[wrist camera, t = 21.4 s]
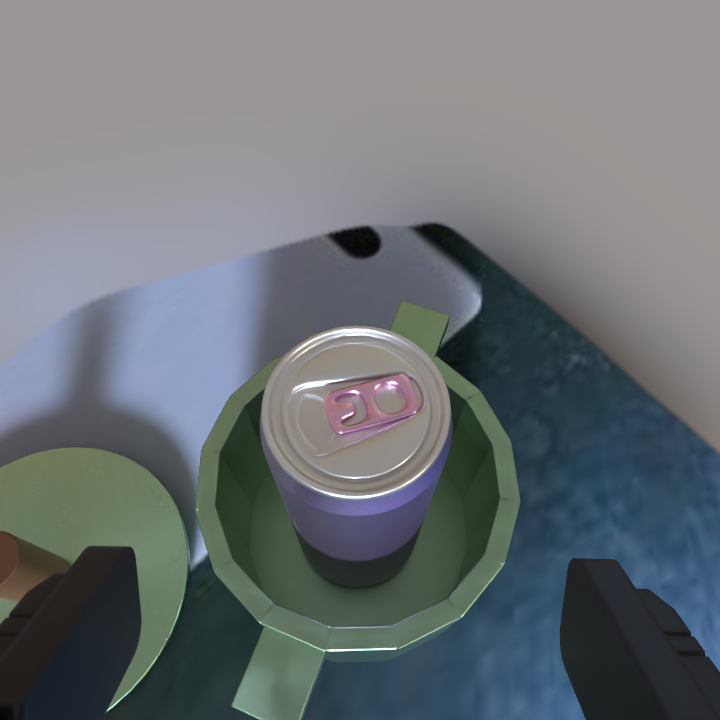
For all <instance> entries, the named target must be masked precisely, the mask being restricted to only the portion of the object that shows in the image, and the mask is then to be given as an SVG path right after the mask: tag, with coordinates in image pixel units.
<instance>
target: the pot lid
mask: <svg viewBox="0 0 720 720" xmlns="http://www.w3.org/2000/svg"><path fill="white" fill-rule="evenodd" d="M88 546H129V547H132V548H133V550H134V552H135V556H136V565H137V575H138V585H139V596H140V606H141V617H142V624H141V634H140V639H139V643H138V647H137V650H136V653H135V655H134V657H133V659H132V661H131V663H130V665H129V667H128V669H127V671H126V673H125V675H124V677H123V679H122V681H121V683H120V685H119V687H118V689H117V691H116V693H115V695H114V697H113V699H112V701H111V703H110V705H109V707H108V709H107V711H106V713H105V715H106V714H107V713H109V712H110V711H111V710H113V709H114V708H116V707H117V706H118V705H119V704H120V703H121V702H122V701H124V700H125V699H126V698H127V697H128V696H129V695H130V694H131V693H132V692H133V691H134V690H135V689H136V688H137V687H138V686H139V685H140V684H141V682H142V681H143V680H144V679H145V678H146V677H147V676H148V675H149V673H150V672H151V670H152V669H153V668H154V666H155V665H156V663H157V662H158V661H159V659H160V658H161V656H162V655H163V653H164V651H165V649H166V647H167V646H168V644H169V642H170V640H171V638H172V637H173V634H174V632H175V629H176V627H177V625H178V622H179V620H180V617H181V614H182V611H183V607H184V604H185V600H186V597H187V590H188V584H189V578H190V550H189V540H188V536H187V532H186V527H185V524H184V521H183V518H182V516H181V513H180V511H179V508H178V507H177V505H176V503H175V501H174V500H173V498H172V496H171V495H170V493H169V492H168V491H167V489H166V488H165V487H164V486H163V484H162V483H161V482H160V481H159V480H158V479H157V478H156V477H155V476H154V475H153V474H151V473H150V472H149V471H148V470H147V469H145V468H144V467H142V466H141V465H139V464H138V463H137V462H135V461H133V460H131V459H129V458H127V457H125V456H122V455H120V454H117V453H114V452H110V451H107V450H102V449H96V448H89V447H67V448H56V449H51V450H46V451H41V452H38V453H34V454H31V455H28V456H25V457H22V458H20V459H17V460H15V461H13V462H11V463H8V464H6V465H4V466H2V467H1V468H0V624H1V623H2V622H3V620H4V619H5V618H8V617H9V613H10V612H11V611H12V610H13V608H14V607H15V606H16V605H17V604H18V602H19V601H20V600H21V599H22V598H23V596H24V595H25V594H26V593H27V592H28V591H29V590H31V589H32V588H34V587H35V586H37V585H38V584H40V583H41V582H42V581H44V580H45V579H47V578H48V577H50V576H51V575H53V574H54V573H66V572H67V571H68V570H69V568H70V567H71V566H72V565H73V563H74V562H75V561H76V559H77V558H78V557H79V556H80V554H81V553H82V552H83V550H84V549H85V548H86V547H88Z"/></svg>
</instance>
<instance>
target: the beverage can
mask: <svg viewBox="0 0 720 720" xmlns="http://www.w3.org/2000/svg"><path fill="white" fill-rule="evenodd" d="M452 433H453V420H452V412H451V403H450V397H449V393H448V389H447V386H446V383H445V380H444V378H443V376H442V374H441V372H440V371H439V369H438V367H437V366H436V364H435V363H434V362H433V360H432V359H431V358H430V357H429V356H428V355H427V354H426V353H425V352H424V351H423V350H422V349H421V348H420V347H418V346H417V345H416V344H414V343H413V342H412V341H410V340H408V339H407V338H405V337H403V336H401V335H399V334H397V333H394V332H392V331H389V330H386V329H382V328H378V327H373V326H364V325H349V326H340V327H335V328H331V329H327V330H324V331H321V332H318V333H316V334H314V335H312V336H310V337H308V338H306V339H305V340H303V341H301V342H300V343H298V344H297V345H296V346H294V347H293V348H292V349H291V350H290V351H289V352H288V353H286V354H285V356H284V357H283V358H282V359H281V360H280V361H279V363H278V364H277V365H276V367H275V368H274V370H273V372H272V373H271V375H270V377H269V380H268V382H267V384H266V387H265V391H264V395H263V400H262V408H261V417H260V437H261V443H262V447H263V451H264V454H265V457H266V460H267V462H268V465H269V467H270V470H271V472H272V475H273V477H274V480H275V482H276V485H277V487H278V490H279V492H280V495H281V497H282V500H283V502H284V505H285V507H286V510H287V513H288V515H289V518H290V520H291V523H292V525H293V528H294V530H295V533H296V535H297V538H298V540H299V543H300V545H301V548H302V550H303V552H304V555H305V556H306V558H307V560H308V561H309V563H310V564H311V565H312V566H313V567H314V569H315V570H316V571H318V572H319V573H320V574H321V575H322V576H324V577H325V578H327V579H329V580H331V581H333V582H335V583H337V584H340V585H344V586H350V587H365V586H371V585H375V584H378V583H380V582H382V581H385V580H386V579H388V578H390V577H391V576H393V575H394V574H395V573H397V572H398V571H399V570H400V569H401V568H402V567H403V565H404V564H405V563H406V561H407V560H408V558H409V557H410V555H411V553H412V551H413V548H414V546H415V543H416V540H417V537H418V535H419V532H420V529H421V527H422V524H423V521H424V518H425V516H426V513H427V510H428V508H429V505H430V502H431V499H432V497H433V494H434V491H435V489H436V486H437V483H438V480H439V478H440V475H441V472H442V469H443V467H444V464H445V461H446V459H447V456H448V453H449V450H450V446H451V441H452Z"/></svg>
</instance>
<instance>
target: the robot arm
mask: <svg viewBox="0 0 720 720" xmlns="http://www.w3.org/2000/svg"><path fill="white" fill-rule="evenodd" d="M141 624H142V617H141V606H140V596H139V585H138V575H137V565H136V556H135V552H134V550H133V548H132V547H129V546H88V547H86V548H85V549H84V550H83V552H82V553H81V554H80V556H79V557H78V558H77V559H76V561H75V562H74V563H73V565H72V566H71V567H70V568H69V570H68V571H67V572H66V573H54V574H53V575H51V576H50V577H48V578H47V579H45V580H44V581H42V582H41V583H40V584H38V585H37V586H35V587H34V588H32V589H31V590H29V591H28V592H27V593H26V594H25V595H24V596H23V598H22V599H21V600H20V601H19V602H18V604H17V605H16V606H15V607H14V608H13V610H12V611H11V612H10V613H9V617H8V618H5V619H4V620H3V622H2V623H1V624H0V720H102V719H103V717H104V715H105V713H106V711H107V709H108V707H109V705H110V703H111V701H112V699H113V697H114V695H115V693H116V691H117V689H118V687H119V685H120V683H121V681H122V679H123V677H124V675H125V673H126V671H127V669H128V667H129V665H130V663H131V661H132V659H133V657H134V655H135V653H136V650H137V647H138V643H139V639H140V634H141ZM560 647H561V654H562V659H563V663H564V666H565V669H566V671H567V674H568V676H569V679H570V681H571V684H572V686H573V689H574V691H575V694H576V696H577V699H578V701H579V704H580V706H581V709H582V711H583V714H584V716H585V718H586V720H720V672H719V671H718V669H717V668H716V667H715V665H714V664H713V662H712V661H711V660H710V658H709V657H706V656H705V651H704V650H703V648H702V647H701V646H700V644H699V643H698V641H697V640H696V639H695V637H692V636H691V632H690V630H689V629H688V628H687V626H686V625H685V623H684V622H683V621H682V619H681V618H680V616H679V615H678V614H677V612H676V611H675V609H674V608H672V607H671V606H670V605H668V604H667V603H666V602H664V601H663V600H662V599H661V598H659V597H658V596H657V595H655V594H654V593H653V592H651V591H650V590H649V589H636V588H635V587H634V585H633V584H632V582H631V581H630V579H629V578H628V576H627V575H626V573H625V572H624V570H623V568H622V567H621V565H620V564H619V563H618V562H617V561H616V560H614V559H578V558H573V559H572V560H571V561H570V563H569V566H568V571H567V579H566V587H565V594H564V602H563V610H562V617H561V625H560Z"/></svg>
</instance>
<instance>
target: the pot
mask: <svg viewBox="0 0 720 720" xmlns="http://www.w3.org/2000/svg"><path fill="white" fill-rule="evenodd" d="M449 318H450V315H447V314H444V313H441V312H438V311H435V310H432V309H428V308H425V307H422V306H419V305H416V304H412V303H409V302H406V301H401V304H400V306H399V309H398V311H397V313H396V316H395V318H394V320H393V323H392V325H391V327H390V330H389V331H392V332H394V333H397V334H399V335H401V336H403V337H405V338H407V339H408V340H410V341H412V342H413V343H414V344H416V345H417V346H418V347H420V348H421V349H422V350H423V351H424V352H425V353H426V354H427V355H428V356H429V357H430V358H431V359H432V360H433V362H434V363H435V364H436V366H437V367H438V369H439V371H440V372H441V374H442V376H443V378H444V380H445V383H446V386H447V389H448V393H449V397H450V403H451V412H452V420H453V433H452V441H451V446H450V450H449V453H448V456H447V459H446V461H445V464H444V467H443V469H442V472H441V475H440V478H439V480H438V483H437V486H436V489H435V491H434V494H433V497H432V499H431V502H430V505H429V508H428V510H427V513H426V516H425V518H424V521H423V524H422V527H421V529H420V532H419V535H418V537H417V540H416V543H415V546H414V548H413V551H412V553H411V555H410V557H409V558H408V560H407V561H406V563H405V564H404V565H403V567H402V568H401V569H400V570H399V571H398V572H397V573H395V574H394V575H393V576H391V577H390V578H388V579H386V580H385V581H382V582H380V583H378V584H375V585H371V586H365V587H350V586H344V585H340V584H337V583H335V582H333V581H331V580H329V579H327V578H325V577H324V576H322V575H321V574H320V573H319V572H318V571H316V570H315V569H314V567H313V566H312V565H311V564H310V563H309V561H308V560H307V558H306V556H305V555H304V552H303V550H302V548H301V545H300V543H299V540H298V538H297V535H296V533H295V530H294V528H293V525H292V523H291V520H290V518H289V515H288V513H287V510H286V507H285V505H284V502H283V500H282V497H281V495H280V492H279V490H278V487H277V485H276V482H275V480H274V477H273V475H272V472H271V470H270V467H269V465H268V462H267V460H266V457H265V454H264V451H263V447H262V443H261V437H260V417H261V408H262V400H263V395H264V391H265V387H266V384H267V382H268V380H269V377H270V375H271V373H272V372H273V370H274V368H275V367H276V365H277V364H278V363H279V361H280V360H281V359H282V358H283V357H284V356H285V355H283V356H280V357H277V358H275V359H273V360H272V361H270V362H269V363H268V364H267V365H266V366H265V367H263V368H262V369H261V370H260V371H259V372H258V373H256V374H255V375H254V376H253V377H252V378H251V379H249V380H248V381H247V382H246V383H245V384H244V385H242V386H241V387H240V388H239V389H238V390H237V391H236V392H234V393H233V394H232V395H231V396H230V398H229V399H228V401H227V402H226V404H225V406H224V408H223V410H222V412H221V414H220V415H219V417H218V419H217V421H216V423H215V425H214V427H213V428H212V430H211V432H210V434H209V436H208V438H207V440H206V441H205V443H204V445H203V447H202V451H201V458H200V467H199V477H198V487H197V496H196V506H195V510H196V516H197V519H198V523H199V526H200V529H201V532H202V535H203V538H204V542H205V545H206V548H207V551H208V554H209V557H210V560H211V564H212V567H213V570H214V572H215V574H216V575H217V577H218V578H219V579H220V580H221V581H222V582H223V583H224V584H225V585H226V587H227V588H228V589H229V590H230V591H231V592H232V593H233V594H234V595H235V597H236V598H237V599H238V600H239V601H240V602H241V603H242V604H243V605H244V607H245V608H246V609H247V610H248V611H249V612H250V613H251V614H252V615H253V617H254V618H255V619H256V620H257V621H258V622H259V623H260V624H262V625H263V626H264V629H263V631H262V633H261V636H260V638H259V640H258V643H257V645H256V648H255V650H254V652H253V655H252V657H251V659H250V662H249V664H248V667H247V669H246V671H245V674H244V676H243V678H242V681H241V683H240V685H239V688H238V690H237V693H236V695H235V697H234V700H233V702H232V705H231V706H232V707H233V708H235V709H238V710H240V711H242V712H244V713H246V714H248V715H251V716H253V717H255V718H257V719H259V720H302V719H303V717H304V714H305V711H306V708H307V706H308V703H309V700H310V698H311V695H312V692H313V689H314V687H315V684H316V681H317V679H318V676H319V673H320V671H321V668H322V665H323V662H324V660H325V659H327V660H329V661H332V662H334V661H335V662H369V661H388V660H392V659H394V658H396V657H397V656H399V655H401V654H403V653H405V652H407V651H410V650H412V649H414V648H415V647H417V646H419V645H421V644H423V643H425V642H427V641H429V640H431V639H433V638H435V637H437V636H438V635H439V634H441V633H442V632H443V631H445V630H446V629H447V628H449V627H450V626H451V625H453V624H454V623H455V622H457V621H458V620H459V619H460V618H462V617H463V616H464V615H465V613H466V612H467V611H468V610H469V608H470V607H471V606H472V605H473V603H474V602H475V601H476V600H477V598H478V597H479V596H480V595H481V593H482V592H483V591H484V590H485V588H486V587H487V586H488V585H489V583H490V582H491V581H492V580H493V578H494V577H495V576H496V575H497V574H498V572H499V571H500V570H501V569H502V567H503V565H504V564H505V561H506V557H507V553H508V549H509V545H510V541H511V538H512V534H513V530H514V526H515V522H516V518H517V514H518V511H519V507H520V495H519V489H518V482H517V476H516V469H515V463H514V456H513V450H512V444H511V442H510V439H509V437H508V436H507V434H506V432H505V431H504V429H503V427H502V426H501V424H500V422H499V421H498V419H497V417H496V416H495V414H494V412H493V411H492V409H491V407H490V406H489V404H488V402H487V401H486V399H485V397H484V396H483V394H482V392H481V391H480V390H479V389H478V388H476V387H475V386H474V385H473V384H471V383H470V382H469V381H467V380H466V379H465V378H464V377H462V376H461V375H460V374H459V373H457V372H456V371H455V370H453V369H452V368H451V367H450V366H448V365H447V364H446V363H445V362H443V361H442V360H441V359H439V358H438V357H437V354H438V351H439V348H440V346H441V343H442V340H443V337H444V335H445V332H446V329H447V327H448V322H449Z"/></svg>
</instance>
